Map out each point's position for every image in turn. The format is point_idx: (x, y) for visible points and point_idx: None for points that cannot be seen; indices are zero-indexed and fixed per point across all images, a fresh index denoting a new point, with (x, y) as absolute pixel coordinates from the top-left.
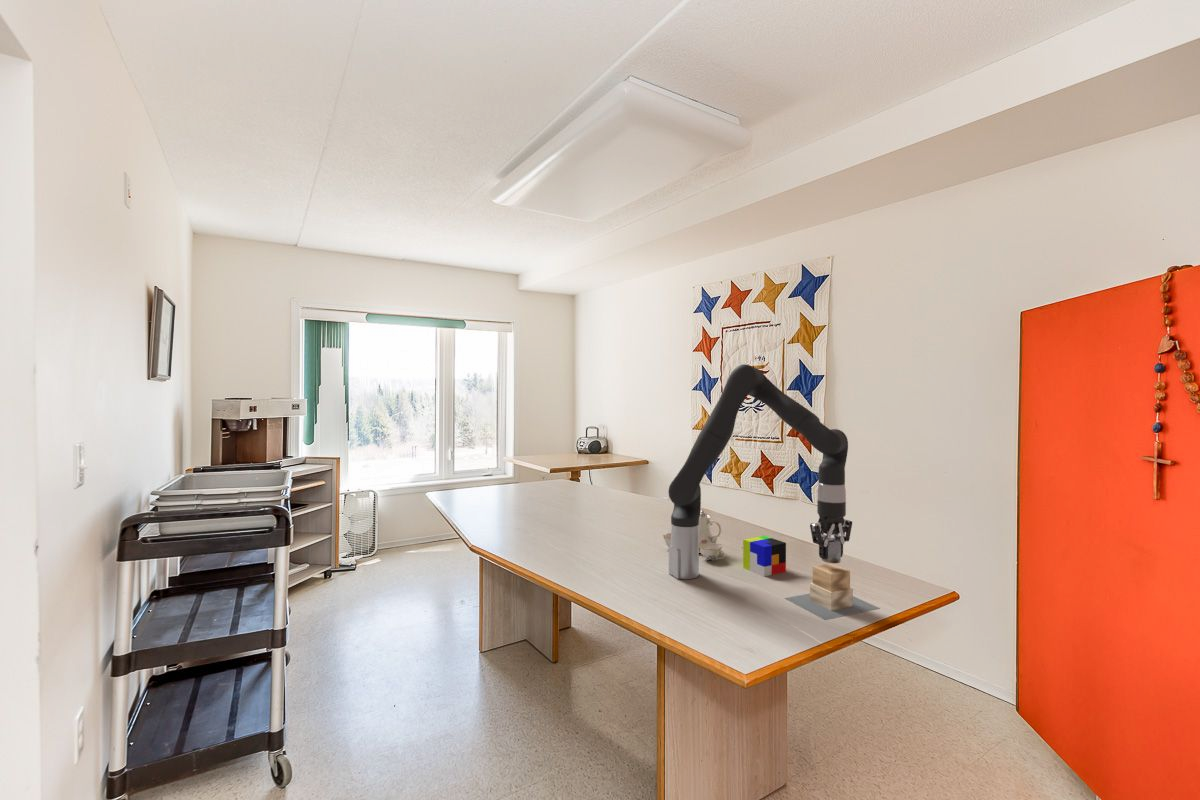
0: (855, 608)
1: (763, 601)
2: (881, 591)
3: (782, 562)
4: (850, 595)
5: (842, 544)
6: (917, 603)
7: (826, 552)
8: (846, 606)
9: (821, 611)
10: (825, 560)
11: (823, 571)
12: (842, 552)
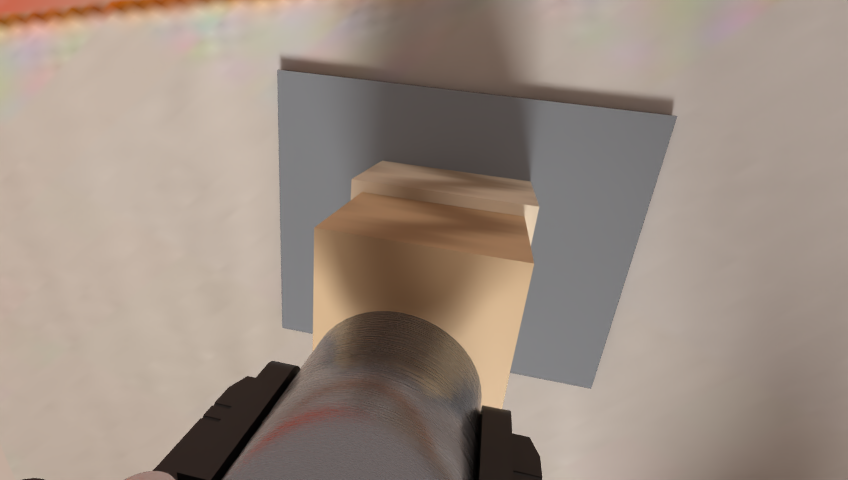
0: (393, 134)
1: (685, 423)
2: (111, 213)
3: None
4: (380, 174)
5: (162, 476)
6: (53, 34)
7: (498, 471)
8: (422, 167)
9: (584, 200)
10: (479, 406)
11: (515, 341)
12: (233, 393)
